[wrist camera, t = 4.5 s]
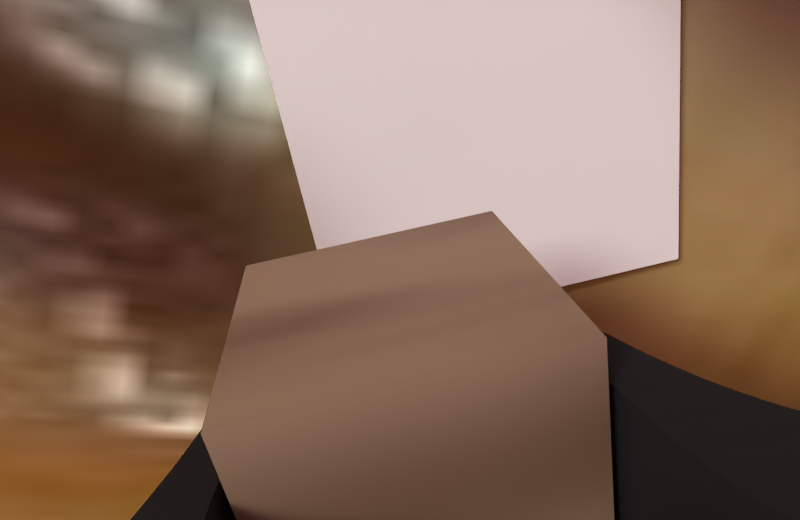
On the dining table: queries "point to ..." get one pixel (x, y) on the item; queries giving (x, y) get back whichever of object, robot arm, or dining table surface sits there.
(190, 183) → the dining table surface
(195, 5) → the dining table surface
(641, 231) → the ceramic tile
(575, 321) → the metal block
